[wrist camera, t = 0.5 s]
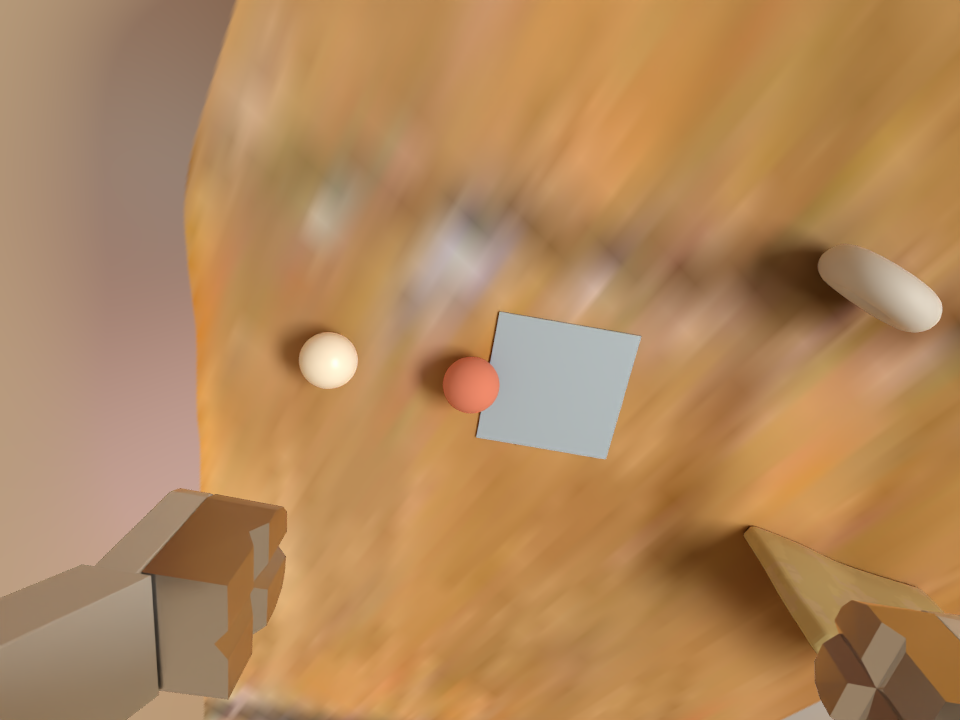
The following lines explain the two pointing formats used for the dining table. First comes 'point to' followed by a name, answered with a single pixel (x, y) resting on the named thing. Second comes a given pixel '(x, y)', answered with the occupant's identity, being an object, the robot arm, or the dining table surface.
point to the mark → (557, 384)
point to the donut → (880, 287)
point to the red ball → (471, 384)
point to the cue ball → (328, 360)
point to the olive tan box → (824, 585)
